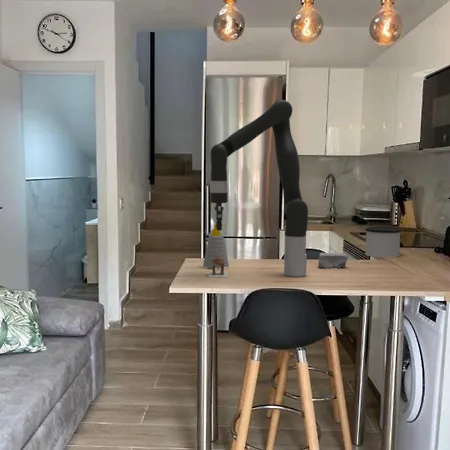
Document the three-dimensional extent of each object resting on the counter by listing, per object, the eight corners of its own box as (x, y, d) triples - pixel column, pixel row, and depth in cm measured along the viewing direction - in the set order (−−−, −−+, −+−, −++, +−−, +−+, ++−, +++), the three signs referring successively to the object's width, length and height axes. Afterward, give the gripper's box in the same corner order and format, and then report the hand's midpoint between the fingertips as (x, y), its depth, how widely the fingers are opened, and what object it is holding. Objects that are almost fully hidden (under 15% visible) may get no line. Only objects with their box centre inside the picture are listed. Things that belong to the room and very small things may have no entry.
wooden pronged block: (223, 272, 209) (223, 257, 209) (223, 275, 204) (224, 259, 204) (212, 272, 209) (212, 257, 208) (212, 275, 204) (212, 259, 203)
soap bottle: (224, 270, 219) (224, 225, 217) (198, 268, 223) (199, 224, 221) (232, 265, 230) (232, 223, 229) (208, 263, 234) (208, 222, 233)
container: (365, 251, 281) (366, 226, 280) (399, 253, 275) (400, 227, 274) (364, 256, 263) (365, 229, 262) (400, 258, 257) (401, 230, 256)
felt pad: (226, 272, 212) (226, 271, 212) (227, 277, 201) (227, 276, 201) (208, 272, 212) (208, 271, 212) (208, 277, 201) (208, 276, 201)
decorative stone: (312, 267, 230) (323, 270, 221) (312, 252, 230) (323, 255, 220) (338, 265, 235) (350, 268, 226) (338, 251, 235) (350, 254, 225)
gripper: (228, 192, 197) (228, 231, 198) (226, 191, 211) (226, 227, 212) (210, 192, 196) (210, 231, 198) (209, 191, 210) (210, 227, 212)
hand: (219, 229), depth 205 cm, fingers open, 8 cm apart
